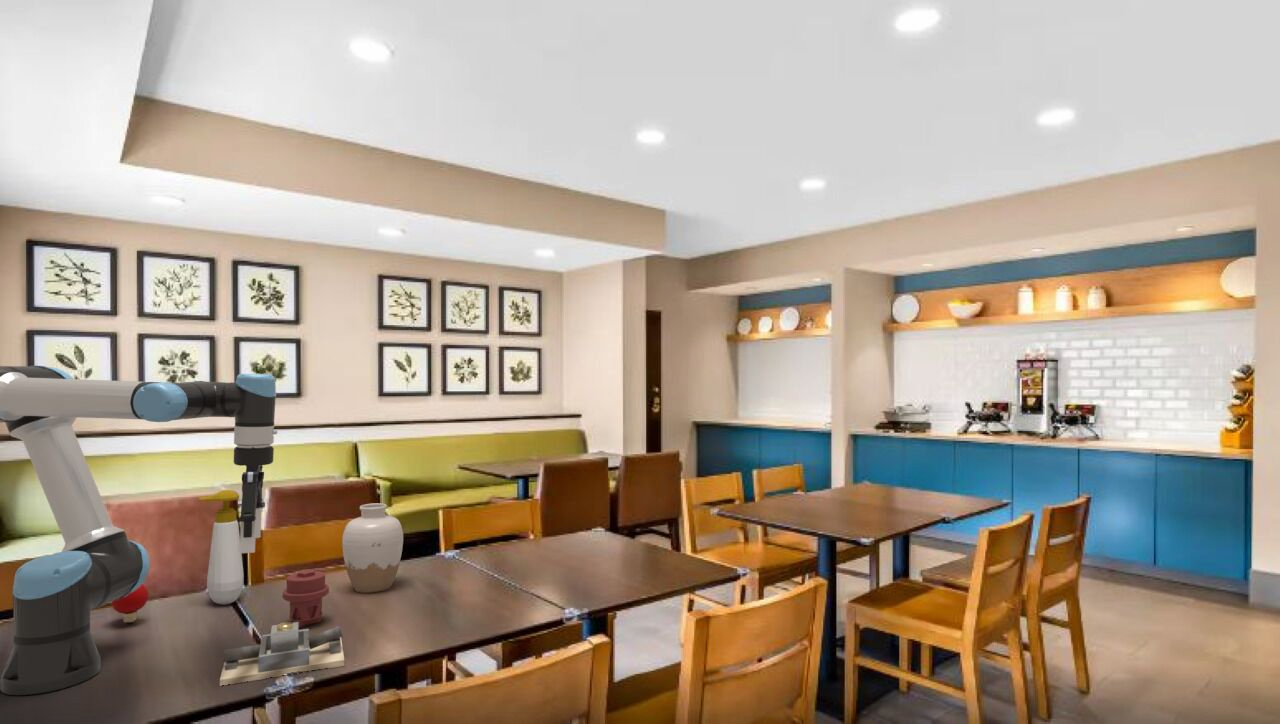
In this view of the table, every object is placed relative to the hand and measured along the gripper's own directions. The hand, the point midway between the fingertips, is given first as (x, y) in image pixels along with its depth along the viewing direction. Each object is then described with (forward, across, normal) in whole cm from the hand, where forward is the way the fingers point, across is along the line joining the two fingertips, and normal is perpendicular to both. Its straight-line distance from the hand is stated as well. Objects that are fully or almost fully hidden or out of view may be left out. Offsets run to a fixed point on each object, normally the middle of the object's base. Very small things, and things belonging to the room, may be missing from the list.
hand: (250, 545), depth 153 cm
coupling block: (+21, -9, -8) cm, 25 cm away
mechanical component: (+23, +15, -11) cm, 29 cm away
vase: (+23, +38, -28) cm, 52 cm away
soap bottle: (+24, +41, +10) cm, 49 cm away
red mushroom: (+24, +32, +27) cm, 48 cm away
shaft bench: (+22, -9, -8) cm, 26 cm away
